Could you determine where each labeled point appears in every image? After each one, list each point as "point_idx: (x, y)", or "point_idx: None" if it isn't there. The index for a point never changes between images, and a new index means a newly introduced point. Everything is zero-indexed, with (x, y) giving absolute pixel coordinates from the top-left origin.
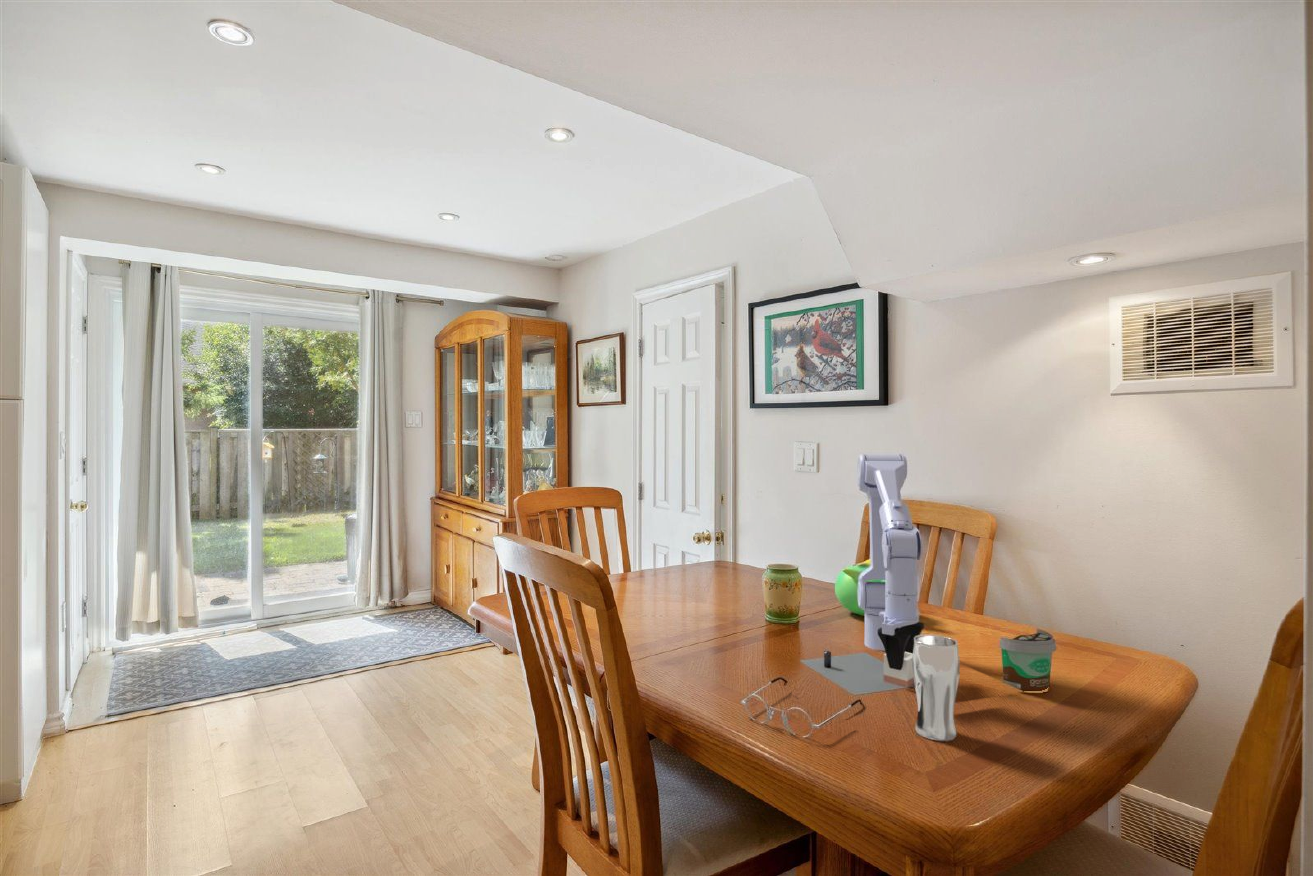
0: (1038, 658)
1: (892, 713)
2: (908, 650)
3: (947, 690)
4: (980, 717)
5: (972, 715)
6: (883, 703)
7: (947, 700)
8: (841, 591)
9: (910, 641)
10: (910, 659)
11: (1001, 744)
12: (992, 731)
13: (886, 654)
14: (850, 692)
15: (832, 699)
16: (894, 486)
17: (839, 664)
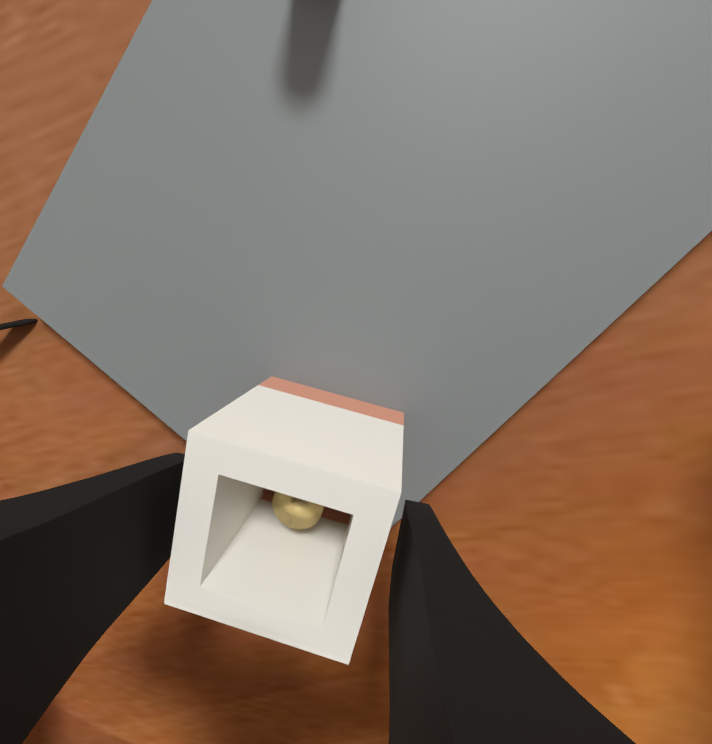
0: None
1: (57, 443)
2: (395, 609)
3: None
4: (215, 701)
5: (216, 681)
6: (124, 397)
7: None
8: None
9: (396, 714)
10: (221, 616)
11: (62, 730)
12: (130, 720)
13: (82, 482)
14: (16, 259)
15: (21, 178)
16: None
17: (416, 28)
